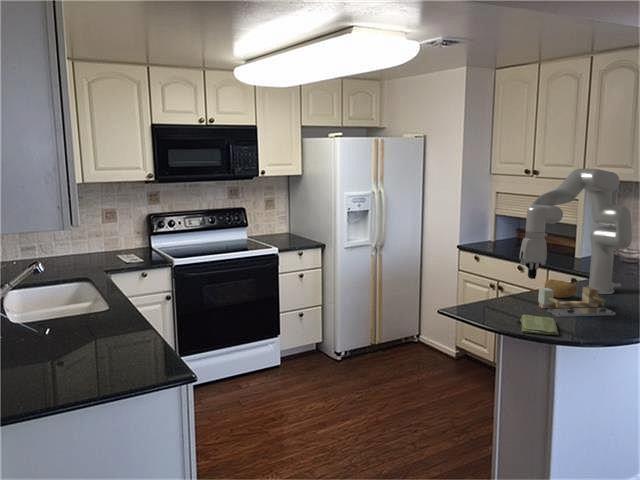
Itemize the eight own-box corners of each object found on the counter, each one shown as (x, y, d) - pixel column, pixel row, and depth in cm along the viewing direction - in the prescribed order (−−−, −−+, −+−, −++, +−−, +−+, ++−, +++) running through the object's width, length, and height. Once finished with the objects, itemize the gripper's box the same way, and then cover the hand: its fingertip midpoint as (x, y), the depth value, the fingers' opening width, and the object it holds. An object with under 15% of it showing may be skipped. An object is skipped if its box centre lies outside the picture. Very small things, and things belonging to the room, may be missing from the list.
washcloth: (521, 334, 196) (521, 326, 196) (519, 320, 213) (520, 312, 212) (559, 338, 192) (560, 329, 192) (555, 323, 209) (555, 316, 208)
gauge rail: (592, 304, 234) (593, 286, 232) (610, 312, 221) (611, 294, 220) (537, 306, 231) (539, 288, 230) (552, 314, 219) (554, 295, 218)
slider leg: (547, 301, 232) (547, 287, 231) (562, 309, 219) (563, 295, 218) (538, 301, 231) (539, 288, 230) (553, 309, 219) (554, 295, 218)
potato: (572, 302, 237) (574, 285, 236) (540, 297, 246) (541, 280, 245) (579, 298, 244) (580, 281, 243) (547, 293, 253) (548, 276, 252)
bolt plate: (603, 309, 226) (603, 305, 225) (615, 315, 218) (615, 310, 218) (547, 311, 224) (547, 306, 223) (557, 317, 216) (557, 312, 215)
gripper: (547, 234, 228) (544, 276, 231) (513, 234, 227) (511, 276, 229) (556, 237, 221) (553, 280, 223) (521, 237, 219) (519, 280, 222)
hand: (531, 278), depth 226 cm, fingers closed
